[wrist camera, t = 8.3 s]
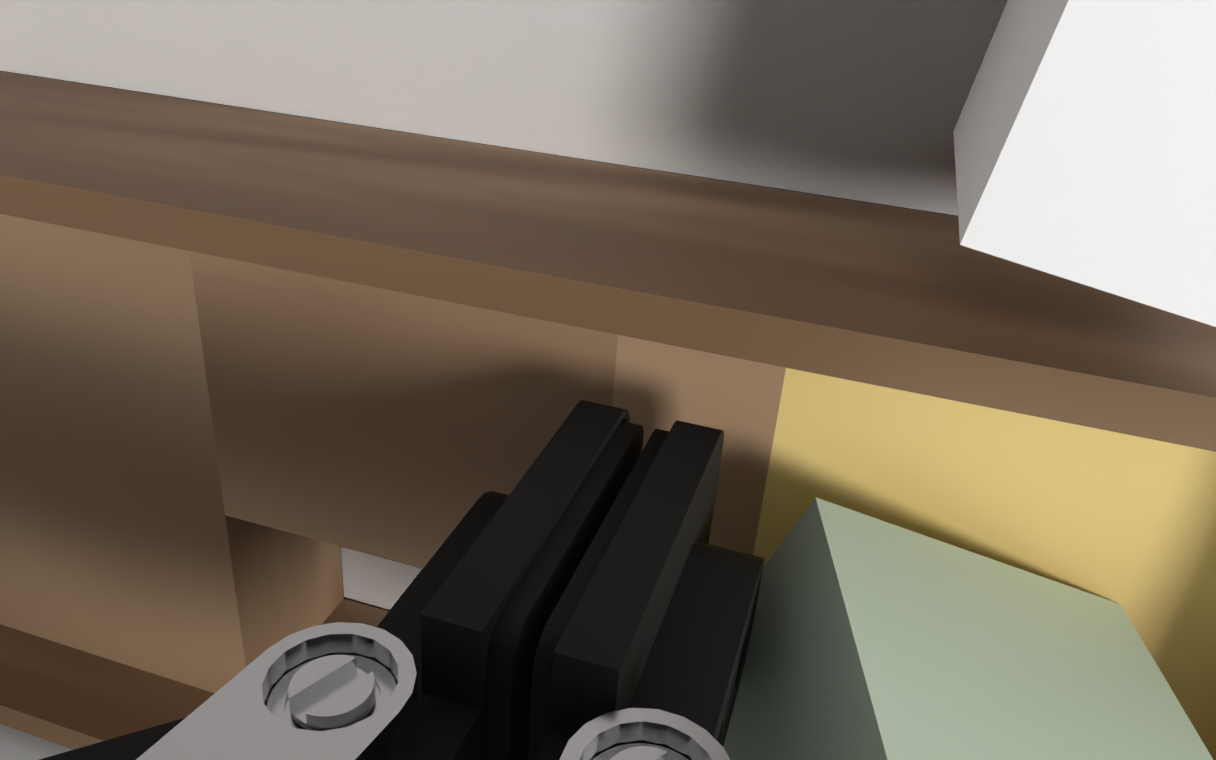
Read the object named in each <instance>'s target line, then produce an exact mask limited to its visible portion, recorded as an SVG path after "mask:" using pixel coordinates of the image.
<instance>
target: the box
mask: <svg viewBox="0 0 1216 760" xmlns="http://www.w3.org/2000/svg"><path fill="white" fill-rule="evenodd" d="M581 400H586V401H590V402H595V403H600V404H604V405H609V406H613V407H618V408H623V409H627V410H628V412H629V416H630V423H634V424H638V425H642V426H643V429H644V437H643V448H642V451H643V449H644V447H645V445H646V443H647V442H648V440H649V438H650V436H651V434H652V433H653V431H654V430H655V429H661V430H666V431H670V429H671V428H672V426H673V424H674V422H675V421H676V420H678V421H683V422H688V423H692V424H697V425H701V426H706V427H711V428H715V429H720V430H724V442H723V450H722V457H721V463H720V470H719V477H718V483H717V490H716V497H715V503H714V510H713V517H712V524H711V530H710V537H709V544H710V545H714V546H718V547H722V548H726V549H730V550H734V551H738V552H742V553H746V554H751V555H755V556H759V557H763V558H764V566H763V568H764V567H765V565H766V564H767V563H768V561H769V560H770V559H771V557H772V556H773V554H774V553H775V552H776V550H777V549H778V548H779V546H780V545H781V544H782V542H783V541H784V539H785V538H786V537H787V535H788V534H789V533H790V531H791V530H792V529H793V527H794V526H795V524H796V523H797V522H798V520H799V519H800V518H801V516H802V515H803V514H804V512H805V511H806V509H807V508H808V507H809V505H810V504H811V503H812V501H813V500H814V499H815V497H816V498H819V499H822V500H825V501H828V502H831V503H833V504H836V505H839V506H842V507H845V508H848V509H851V510H853V511H856V512H859V513H862V514H865V515H868V516H870V517H873V518H876V519H879V520H882V521H885V522H888V523H890V524H893V525H896V526H899V527H902V528H905V529H908V530H910V531H913V532H916V533H919V534H922V535H925V536H928V537H930V538H933V539H936V540H939V541H942V542H945V543H947V544H950V545H953V546H956V547H959V548H962V549H965V550H967V551H970V552H973V553H976V554H979V555H982V556H985V557H987V558H990V559H993V560H996V561H999V562H1002V563H1005V564H1007V565H1010V566H1013V567H1016V568H1019V569H1022V570H1024V571H1027V572H1030V573H1033V574H1036V575H1039V576H1042V577H1044V578H1047V579H1050V580H1053V581H1056V582H1059V583H1062V584H1064V585H1067V586H1070V587H1073V588H1076V589H1079V590H1081V591H1084V592H1087V593H1090V594H1093V595H1096V596H1099V597H1101V598H1104V599H1107V600H1110V601H1113V602H1116V603H1119V604H1121V605H1122V607H1123V608H1124V610H1125V612H1126V613H1127V615H1128V617H1129V618H1130V620H1131V622H1132V623H1133V625H1134V627H1135V629H1136V630H1137V632H1138V634H1139V635H1140V637H1141V639H1142V640H1143V642H1144V644H1145V645H1146V647H1147V649H1148V650H1149V652H1150V654H1151V656H1152V657H1153V659H1154V661H1155V662H1156V664H1157V666H1158V667H1159V669H1160V671H1161V672H1162V674H1163V676H1164V677H1165V679H1166V681H1167V682H1168V684H1169V686H1170V688H1171V689H1172V691H1173V693H1174V694H1175V696H1176V698H1177V699H1178V701H1179V703H1180V704H1181V706H1182V708H1183V709H1184V711H1185V713H1186V714H1187V716H1188V718H1189V720H1190V721H1191V723H1192V725H1193V726H1194V728H1195V730H1196V731H1197V733H1198V735H1199V736H1200V738H1201V740H1202V741H1203V743H1204V745H1205V746H1206V748H1207V750H1208V752H1209V753H1210V755H1211V757H1212V758H1213V760H1216V327H1214V326H1211V325H1208V324H1205V323H1202V322H1199V321H1195V320H1192V319H1189V318H1186V317H1183V316H1180V315H1177V314H1174V313H1171V312H1167V311H1164V310H1161V309H1158V308H1155V307H1152V306H1149V305H1146V304H1143V303H1139V302H1136V301H1133V300H1130V299H1127V298H1124V297H1121V296H1118V295H1115V294H1111V293H1108V292H1105V291H1102V290H1099V289H1096V288H1093V287H1090V286H1087V285H1083V284H1080V283H1077V282H1074V281H1071V280H1068V279H1065V278H1062V277H1059V276H1055V275H1052V274H1049V273H1046V272H1043V271H1040V270H1037V269H1034V268H1031V267H1027V266H1024V265H1021V264H1018V263H1015V262H1012V261H1009V260H1006V259H1003V258H999V257H996V256H993V255H990V254H987V253H984V252H981V251H978V250H975V249H971V248H968V247H965V246H962V245H960V237H959V220H958V216H952V215H946V214H939V213H932V212H926V211H919V210H913V209H906V208H899V207H893V206H886V205H880V204H873V203H867V202H860V201H853V200H847V199H840V198H834V197H827V196H820V195H814V194H807V193H801V192H794V191H788V190H781V189H774V188H768V187H761V186H755V185H748V184H741V183H735V182H728V181H722V180H715V179H708V178H702V177H695V176H689V175H682V174H676V173H669V172H662V171H656V170H649V169H643V168H636V167H629V166H623V165H616V164H610V163H603V162H597V161H590V160H583V159H577V158H570V157H564V156H557V155H550V154H544V153H537V152H531V151H524V150H517V149H511V148H504V147H498V146H491V145H485V144H478V143H471V142H465V141H458V140H452V139H445V138H438V137H432V136H425V135H419V134H412V133H406V132H399V131H392V130H386V129H379V128H373V127H366V126H359V125H353V124H346V123H340V122H333V121H326V120H320V119H313V118H307V117H300V116H294V115H287V114H280V113H274V112H267V111H261V110H254V109H247V108H241V107H234V106H228V105H221V104H215V103H208V102H201V101H195V100H188V99H182V98H175V97H168V96H162V95H155V94H149V93H142V92H135V91H129V90H122V89H116V88H109V87H103V86H96V85H89V84H83V83H76V82H70V81H63V80H56V79H50V78H43V77H37V76H30V75H24V74H17V73H10V72H4V71H0V724H2V725H4V726H7V727H10V728H13V729H16V730H19V731H21V732H24V733H27V734H30V735H33V736H36V737H38V738H41V739H44V740H47V741H50V742H53V743H55V744H58V745H61V746H64V747H67V748H70V749H72V750H74V749H78V748H81V747H85V746H88V745H92V744H95V743H99V742H102V741H106V740H109V739H112V738H116V737H119V736H123V735H126V734H130V733H133V732H137V731H140V730H144V729H147V728H151V727H154V726H158V725H161V724H165V723H168V722H172V721H175V720H179V719H182V718H186V717H187V716H188V715H190V714H191V713H192V712H193V711H194V710H196V709H197V708H198V707H199V706H200V705H202V704H203V703H204V702H205V701H206V700H207V699H209V698H210V697H211V696H212V695H213V694H215V693H216V692H217V691H218V690H219V689H221V688H222V687H223V686H224V685H225V684H226V683H228V682H229V681H230V680H231V679H232V678H234V677H235V676H236V675H237V674H238V673H240V672H241V671H242V670H243V669H244V668H245V667H247V666H248V665H249V664H250V663H251V662H253V661H254V660H255V659H256V658H257V657H259V656H260V655H261V654H262V653H263V652H264V651H266V650H267V649H268V648H270V647H271V646H273V645H274V644H276V643H277V642H279V641H281V640H282V639H284V638H285V637H287V636H288V635H291V634H293V633H296V632H299V631H301V630H304V629H307V628H309V627H312V626H317V625H324V624H330V623H336V622H344V623H363V624H366V625H370V626H373V627H377V626H378V625H379V623H380V622H381V621H382V620H383V618H384V617H385V616H386V615H387V613H388V612H389V611H386V610H383V609H379V608H376V607H372V606H369V605H365V604H362V603H358V602H355V601H351V600H348V599H344V591H343V577H342V563H341V549H340V546H341V547H345V548H348V549H352V550H356V551H360V552H363V553H367V554H371V555H374V556H378V557H382V558H386V559H389V560H393V561H397V562H400V563H404V564H408V565H411V566H415V567H419V568H424V567H425V565H426V564H427V563H428V562H429V560H430V559H431V558H432V557H433V555H434V554H435V553H436V551H437V550H438V549H439V548H440V546H441V545H442V544H443V543H444V541H445V540H446V539H447V538H448V536H449V535H450V534H451V533H452V531H453V530H454V529H455V528H456V526H457V525H458V524H459V522H460V521H461V520H462V519H463V517H464V516H465V515H466V514H467V512H468V511H469V510H470V509H471V507H472V506H473V505H474V504H475V502H476V501H477V500H478V499H479V498H480V497H481V496H482V495H483V494H484V493H485V492H489V491H494V492H498V493H502V494H506V495H510V493H511V492H512V491H513V489H514V488H515V487H516V485H517V484H518V483H519V481H520V480H521V479H522V477H523V476H524V474H525V473H526V472H527V470H528V469H529V468H530V466H531V465H532V464H533V462H534V461H535V460H536V458H537V457H538V456H539V454H540V453H541V452H542V450H543V449H544V448H545V446H546V445H547V444H548V442H549V441H550V440H551V438H552V437H553V436H554V434H555V433H556V432H557V430H558V429H559V428H560V426H561V425H562V423H563V422H564V421H565V419H566V418H567V417H568V415H569V414H570V413H571V411H572V410H573V409H574V407H575V406H576V405H577V403H578V402H579V401H581Z"/></svg>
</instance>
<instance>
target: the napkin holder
mask: <svg viewBox="0 0 1216 760" xmlns="http://www.w3.org/2000/svg"><path fill="white" fill-rule="evenodd" d="M953 134H954V151H955V168H956V185H957V202H958V220H959V237H960V245H962V246H965V247H968V248H971V249H975V250H978V251H981V252H984V253H987V254H990V255H993V256H996V257H999V258H1003V259H1006V260H1009V261H1012V262H1015V263H1018V264H1021V265H1024V266H1027V267H1031V268H1034V269H1037V270H1040V271H1043V272H1046V273H1049V274H1052V275H1055V276H1059V277H1062V278H1065V279H1068V280H1071V281H1074V282H1077V283H1080V284H1083V285H1087V286H1090V287H1093V288H1096V289H1099V290H1102V291H1105V292H1108V293H1111V294H1115V295H1118V296H1121V297H1124V298H1127V299H1130V300H1133V301H1136V302H1139V303H1143V304H1146V305H1149V306H1152V307H1155V308H1158V309H1161V310H1164V311H1167V312H1171V313H1174V314H1177V315H1180V316H1183V317H1186V318H1189V319H1192V320H1195V321H1199V322H1202V323H1205V324H1208V325H1211V326H1214V327H1216V0H1008V1H1007V3H1006V5H1005V8H1004V10H1003V13H1002V15H1001V17H1000V20H999V22H998V25H997V27H996V30H995V32H994V34H993V37H992V39H991V42H990V44H989V46H988V49H987V51H986V54H985V56H984V59H983V61H982V63H981V66H980V68H979V71H978V73H977V75H976V78H975V80H974V83H973V85H972V87H971V90H970V92H969V95H968V97H967V100H966V102H965V104H964V107H963V109H962V112H961V114H960V116H959V119H958V121H957V124H956V126H955V129H954V131H953Z"/></svg>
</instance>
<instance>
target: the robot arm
mask: <svg viewBox="0 0 1216 760" xmlns="http://www.w3.org/2000/svg"><path fill="white" fill-rule="evenodd" d="M643 437H644V429H643V426H642V425H638V424H634V423H630V416H629V412H628V410H627V409H623V408H618V407H613V406H609V405H604V404H600V403H595V402H590V401H586V400H581V401H579V402H578V403H577V405H576V406H575V407H574V409H573V410H572V411H571V413H570V414H569V415H568V417H567V418H566V419H565V421H564V422H563V423H562V425H561V426H560V428H559V429H558V430H557V432H556V433H555V434H554V436H553V437H552V438H551V440H550V441H549V442H548V444H547V445H546V446H545V448H544V449H543V450H542V452H541V453H540V454H539V456H538V457H537V458H536V460H535V461H534V462H533V464H532V465H531V466H530V468H529V469H528V470H527V472H526V473H525V474H524V476H523V477H522V479H521V480H520V481H519V483H518V484H517V485H516V487H515V488H514V489H513V491H512V492H511V493H510V495H506V494H502V493H498V492H494V491H489V492H485V493H484V494H483V495H482V496H481V497H480V498H479V499H478V500H477V501H476V502H475V504H474V505H473V506H472V507H471V509H470V510H469V511H468V512H467V514H466V515H465V516H464V517H463V519H462V520H461V521H460V522H459V524H458V525H457V526H456V528H455V529H454V530H453V531H452V533H451V534H450V535H449V536H448V538H447V539H446V540H445V541H444V543H443V544H442V545H441V546H440V548H439V549H438V550H437V551H436V553H435V554H434V555H433V557H432V558H431V559H430V560H429V562H428V563H427V564H426V565H425V567H424V568H423V569H422V570H421V572H420V573H419V574H418V575H417V577H416V578H415V579H414V580H413V582H412V583H411V584H410V586H409V587H408V588H407V589H406V591H405V592H404V593H403V594H402V596H401V597H400V598H399V599H398V601H397V602H396V603H395V604H394V606H393V607H392V608H391V609H390V611H389V612H388V613H387V615H386V616H385V617H384V618H383V620H382V621H381V622H380V623H379V625H378V626H377V627H373V626H370V625H366V624H363V623H344V622H336V623H330V624H324V625H317V626H312V627H309V628H307V629H304V630H301V631H299V632H296V633H293V634H291V635H288V636H287V637H285V638H284V639H282V640H281V641H279V642H277V643H276V644H274V645H273V646H271V647H270V648H268V649H267V650H266V651H264V652H263V653H262V654H261V655H260V656H259V657H257V658H256V659H255V660H254V661H253V662H251V663H250V664H249V665H248V666H247V667H245V668H244V669H243V670H242V671H241V672H240V673H238V674H237V675H236V676H235V677H234V678H232V679H231V680H230V681H229V682H228V683H226V684H225V685H224V686H223V687H222V688H221V689H219V690H218V691H217V692H216V693H215V694H213V695H212V696H211V697H210V698H209V699H207V700H206V701H205V702H204V703H203V704H202V705H200V706H199V707H198V708H197V709H196V710H194V711H193V712H192V713H191V714H190V715H188V716H187V717H186V718H182V719H179V720H175V721H172V722H168V723H165V724H161V725H158V726H154V727H151V728H147V729H144V730H140V731H137V732H133V733H130V734H126V735H123V736H119V737H116V738H112V739H109V740H106V741H102V742H99V743H95V744H92V745H88V746H85V747H81V748H78V749H74V750H71V751H67V752H64V753H60V754H57V755H53V756H50V757H46V758H43V759H39V760H730V758H729V756H728V755H727V753H726V751H725V749H724V748H723V745H724V742H725V738H726V734H727V730H728V726H729V723H730V719H731V715H732V711H733V707H734V703H735V700H736V696H737V692H738V688H739V684H740V680H741V676H742V672H743V667H744V663H745V658H746V654H747V649H748V645H749V640H750V636H751V631H752V626H753V621H754V616H755V611H756V605H757V600H758V594H759V589H760V584H761V578H762V572H763V566H764V558H763V557H759V556H755V555H751V554H746V553H742V552H738V551H734V550H730V549H726V548H722V547H718V546H714V545H710V544H709V537H710V530H711V524H712V517H713V510H714V503H715V497H716V490H717V483H718V477H719V470H720V463H721V457H722V450H723V442H724V430H720V429H715V428H711V427H706V426H701V425H697V424H692V423H688V422H683V421H678V420H676V421H675V422H674V424H673V426H672V428H671V429H670V431H666V430H661V429H655V430H654V431H653V433H652V434H651V436H650V438H649V440H648V442H647V443H646V445H645V447H644V449H643V451H642V448H643Z"/></svg>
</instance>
